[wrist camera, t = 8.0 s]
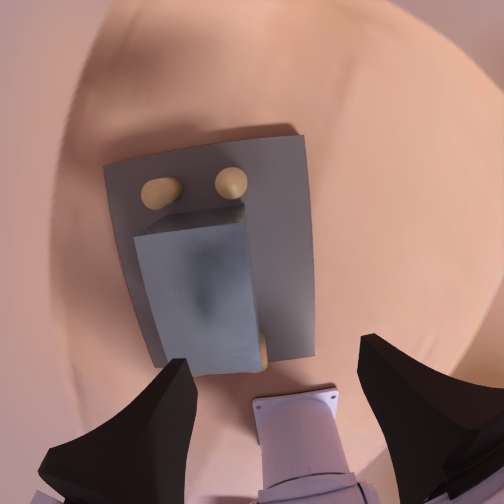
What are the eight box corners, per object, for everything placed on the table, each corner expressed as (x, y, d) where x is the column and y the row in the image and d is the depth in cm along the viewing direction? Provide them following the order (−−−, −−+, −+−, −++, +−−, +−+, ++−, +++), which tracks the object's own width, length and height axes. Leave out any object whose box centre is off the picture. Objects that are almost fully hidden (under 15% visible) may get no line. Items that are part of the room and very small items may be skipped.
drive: (258, 319, 19) (261, 370, 14) (189, 324, 19) (172, 375, 14) (245, 204, 17) (243, 222, 12) (166, 215, 17) (133, 236, 12)
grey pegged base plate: (312, 348, 21) (322, 381, 18) (157, 360, 22) (145, 391, 18) (300, 136, 17) (315, 128, 13) (110, 165, 17) (79, 168, 13)
